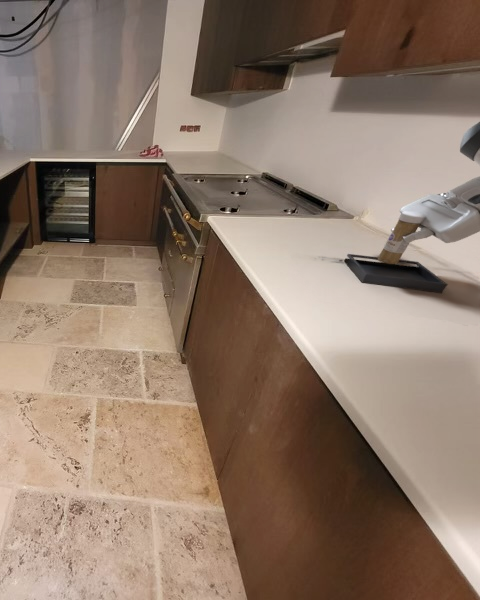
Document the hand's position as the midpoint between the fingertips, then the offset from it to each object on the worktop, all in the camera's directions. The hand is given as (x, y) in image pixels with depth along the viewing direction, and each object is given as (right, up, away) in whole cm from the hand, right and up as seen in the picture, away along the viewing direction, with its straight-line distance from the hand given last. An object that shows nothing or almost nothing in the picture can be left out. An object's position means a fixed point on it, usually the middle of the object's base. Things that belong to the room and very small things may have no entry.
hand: (398, 236), depth 85 cm
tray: (+2, -10, +5) cm, 11 cm away
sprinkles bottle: (+1, -6, +4) cm, 7 cm away
